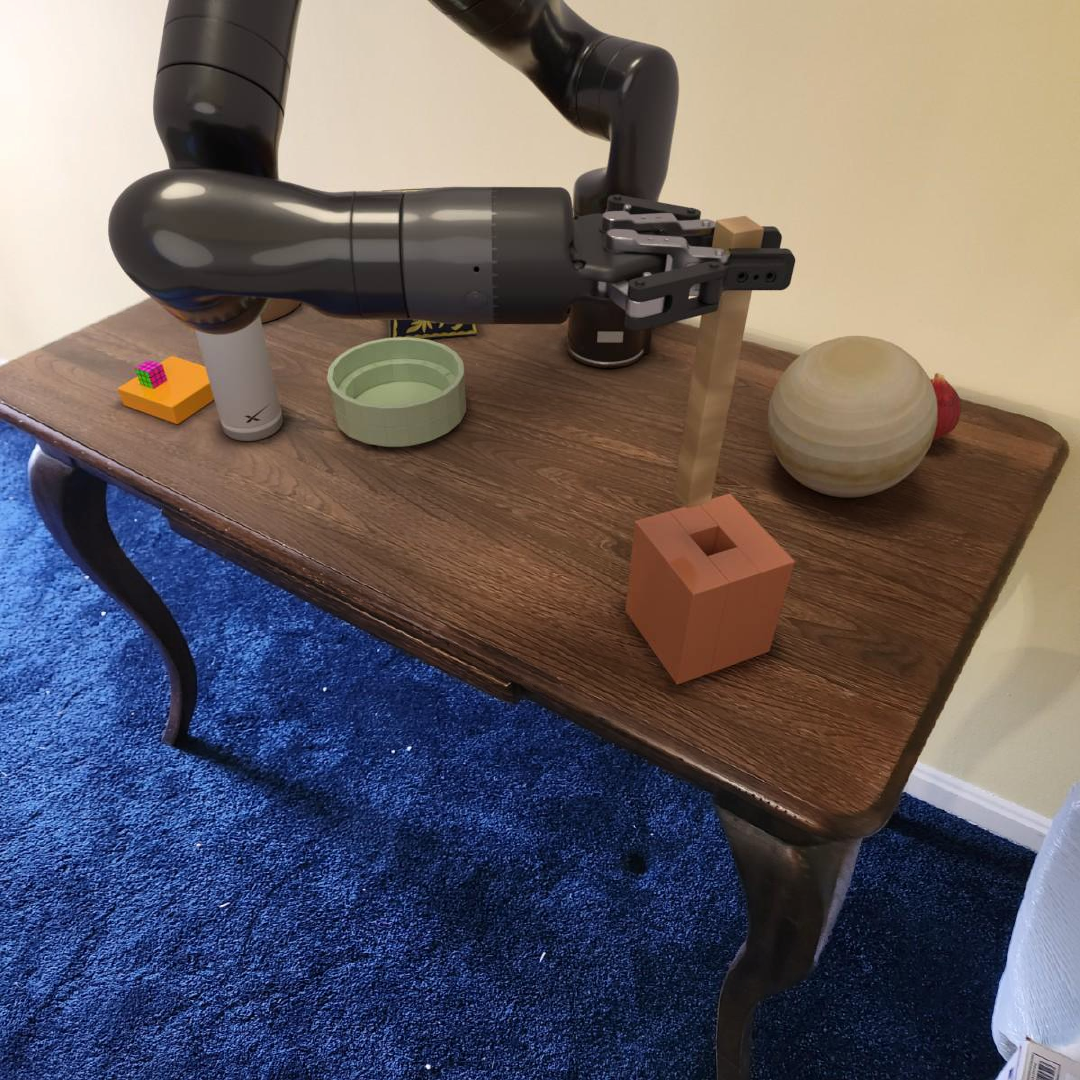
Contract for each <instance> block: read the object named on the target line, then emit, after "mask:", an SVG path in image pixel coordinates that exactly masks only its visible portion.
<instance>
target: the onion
mask: <svg viewBox="0 0 1080 1080" xmlns="http://www.w3.org/2000/svg"><path fill="white" fill-rule="evenodd" d="M930 381H931V383H932V386H933V388H934V392H935V395H936V399H937V425H936V430H935V433H934V437H933V440H932V441H936V440H939V439H941V438H943V437H945V436H947V435H949V434H950V433H951V432H952V431H953V430H955V428H956V427H957V425H958V423H959V420H960V416H961V411H962V402H961V398H960V395H959V394H958V392H957V391H956V390H955V388H954V387H953V386H952V385H951V384H950V383H949V382H948V380H947V379H946V378H945V375H944V374H943V373H941V372H935V374H934V377H933V379H931V378H930Z"/></svg>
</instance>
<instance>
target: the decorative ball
mask: <svg viewBox="0 0 1080 1080" xmlns="http://www.w3.org/2000/svg"><path fill="white" fill-rule="evenodd" d="M930 380H931V378H930V376H929V375H928V374H927V372H926V370H925V369H924V368H923V366H922V365H921V364H920V363H919V361H918V360H917V359H916V358H915V357H914V356H912V355H911V354H910V353H909V352H907V351H906V350H904V348H902V347H901V346H899V345H897V344H895V343H893V342H890V341H888V340H884V339H882V338H877V337H873V336H868V335H847V336H839V337H836V338H832V339H829V340H825V341H822V342H820V343H818V344H816V345H813V346H812V347H810V348H809V349H807V350H806V351H804V352H803V353H802V354H800V355H799V356H797V357H796V358H795V359H794V360H793V361H792V362H791V363H790V364H788V366H787V368H786V369H784V371H783V373H782V374H781V376H779V378H778V380H777V381H776V384H775V386H774V389H773V391H772V394H771V397H770V399H769V402H768V411H767V422H766V425H767V430H768V431H767V432H768V435H769V440H770V441H769V442H770V446H771V448H772V449H773V452H774V454H775V456H776V457H777V460H778V461H779V463H780V465H781V466H782V467H783V468H784V469H785V471H786V472H787V473H788V474H789V475H790V476H791V477H792V478H793V479H794V480H796V481H797V482H798V483H800V484H801V485H802V486H804V487H807V488H808V489H810V490H813V491H815V492H817V493H820V494H822V495H827V496H830V497H837V498H850V499H851V498H861V497H866V496H870V495H875V494H877V493H881V492H883V491H885V490H887V489H890V488H892V487H894V486H896V485H897V484H899V483H900V482H901V481H903V480H904V479H906V478H907V477H908V476H909V475H910V474H911V473H913V471H915V469H916V468H917V467H918V466H919V465H920V463H921V462H922V461H923V459H924V457H925V456H926V454H927V453H928V451H929V449H930V448H931V446H932V443H933V441H934V440H933V437H934V433H935V430H936V425H937V399H936V395H935V392H934V388H933V386H932V383H931V381H930Z"/></svg>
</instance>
